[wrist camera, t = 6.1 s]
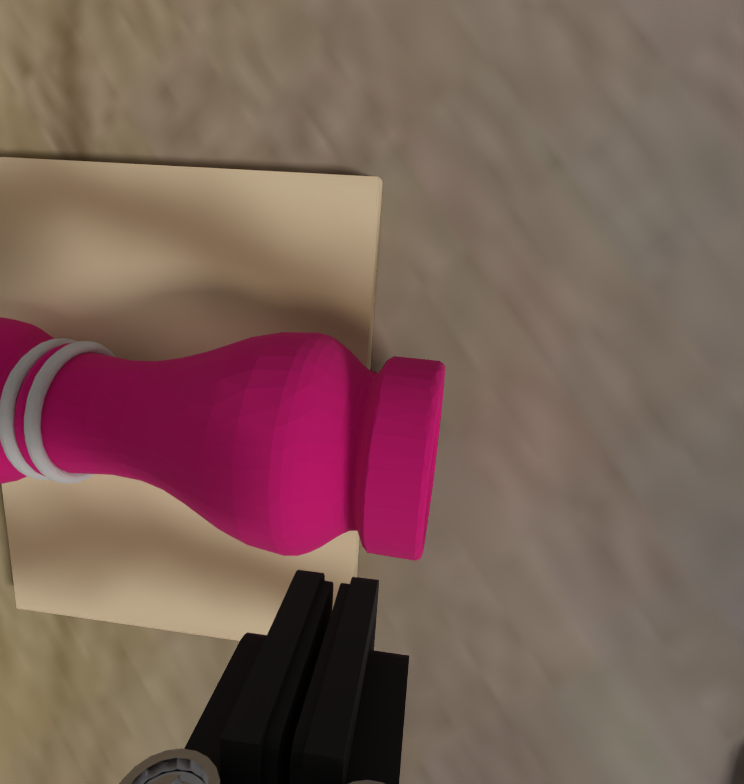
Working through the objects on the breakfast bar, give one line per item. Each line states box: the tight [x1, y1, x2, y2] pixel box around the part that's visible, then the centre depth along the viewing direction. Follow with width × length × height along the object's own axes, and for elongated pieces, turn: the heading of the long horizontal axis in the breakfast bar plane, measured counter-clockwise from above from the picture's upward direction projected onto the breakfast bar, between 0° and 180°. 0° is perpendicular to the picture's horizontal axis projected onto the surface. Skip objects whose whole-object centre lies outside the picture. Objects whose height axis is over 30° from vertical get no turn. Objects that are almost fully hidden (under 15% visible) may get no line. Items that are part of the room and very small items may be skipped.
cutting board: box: [0, 157, 383, 641], centre depth 23 cm, size 20×16×1 cm
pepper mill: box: [0, 317, 445, 560], centre depth 19 cm, size 7×7×20 cm
